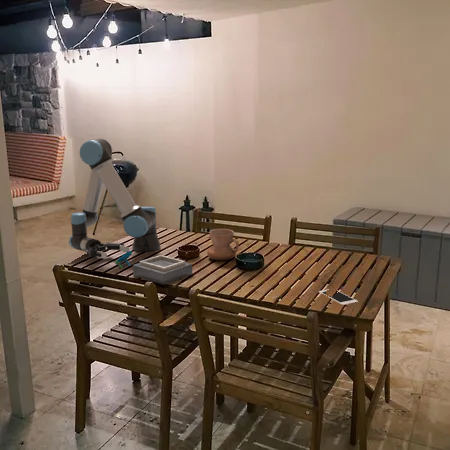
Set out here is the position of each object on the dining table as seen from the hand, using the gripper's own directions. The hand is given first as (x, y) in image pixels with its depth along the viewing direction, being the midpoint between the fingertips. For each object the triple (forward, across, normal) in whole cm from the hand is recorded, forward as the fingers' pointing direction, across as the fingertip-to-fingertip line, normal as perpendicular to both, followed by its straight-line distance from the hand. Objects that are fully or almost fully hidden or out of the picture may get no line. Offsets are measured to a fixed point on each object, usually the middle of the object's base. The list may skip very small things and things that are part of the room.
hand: (117, 253), depth 242 cm
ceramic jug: (+33, -40, -6) cm, 52 cm away
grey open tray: (+28, -3, -6) cm, 29 cm away
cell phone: (+103, -29, -6) cm, 107 cm away
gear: (+3, -1, -6) cm, 7 cm away
